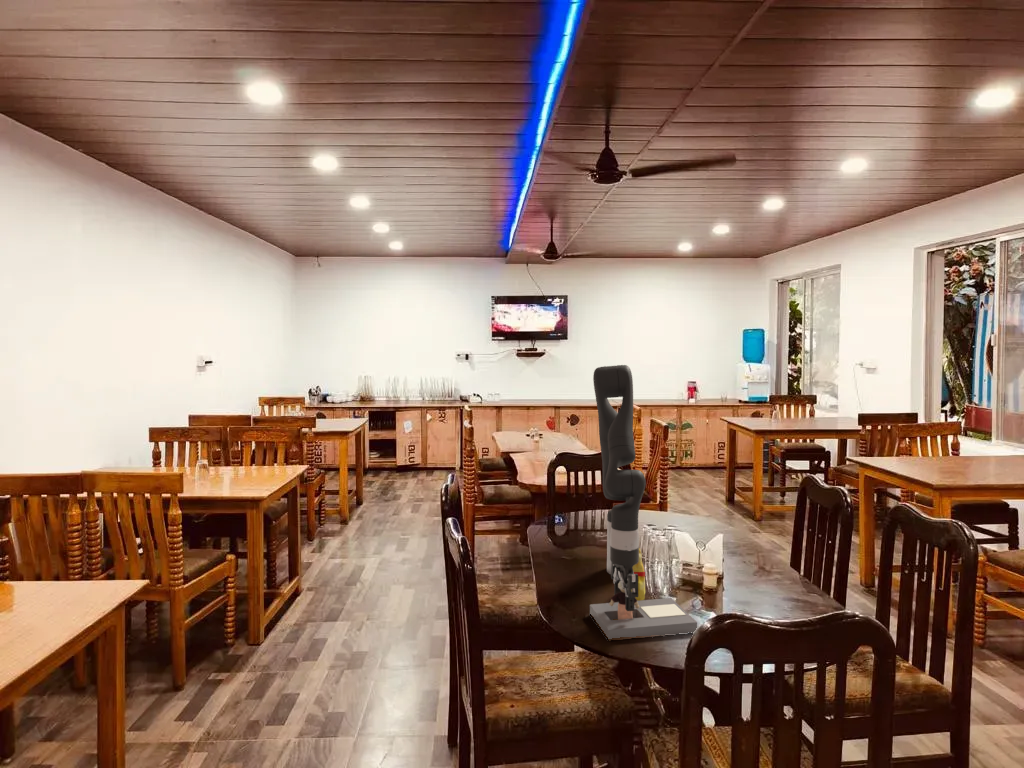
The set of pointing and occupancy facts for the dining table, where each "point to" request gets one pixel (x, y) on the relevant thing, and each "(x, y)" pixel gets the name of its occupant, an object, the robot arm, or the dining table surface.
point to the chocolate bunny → (640, 578)
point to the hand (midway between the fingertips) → (624, 603)
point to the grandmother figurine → (622, 604)
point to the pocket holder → (644, 619)
